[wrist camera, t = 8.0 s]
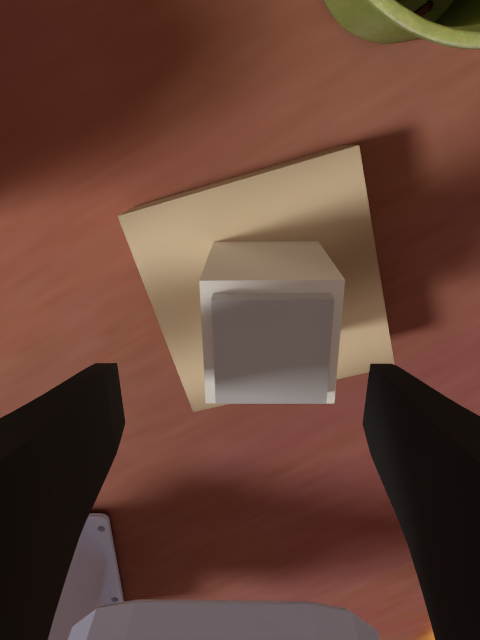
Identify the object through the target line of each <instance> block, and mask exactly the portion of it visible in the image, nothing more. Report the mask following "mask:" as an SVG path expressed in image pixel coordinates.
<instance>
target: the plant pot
mask: <svg viewBox="0 0 480 640" xmlns="http://www.w3.org/2000/svg"><path fill="white" fill-rule="evenodd" d="M324 1H325V4H326V6H327V7H328V9H329V11H330V12H331V14H332V15H333V17H334V18H335V19H336V21H337V22H338V23H339V24H340V25H341V26H342V27H343V28H344V29H345V30H347V31H348V32H350V33H352V34H354V35H356V36H358V37H360V38H362V39H364V40H367V41H371V42H374V43H380V44H391V43H399V42H403V41H408V40H413V39H418V38H422V39H425V40H428V41H431V42H434V43H437V44H440V45H443V46H448V47H455V48H461V49H478V50H480V0H324ZM428 1H433V4H432V9H431V10H430V11H429V12H427V13H425V14H424V15H422V16H419V15H417V14H416V13H414V12H415V11H416V10H418V9H419V8H421V7H422V6H423V5H425V4H426V3H427V2H428Z"/></svg>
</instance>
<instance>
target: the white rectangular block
mask: <svg viewBox="0 0 480 640" xmlns="http://www.w3.org/2000/svg"><path fill="white" fill-rule="evenodd" d="M199 286H200V305H201V324H202V343H203V362H204V381H205V400H206V403H227V404H326V403H334V401H335V390H336V378H337V367H338V356H339V344H340V333H341V321H342V310H343V299H344V287H345V279H344V278H343V276H342V275H341V273H340V272H339V270H338V269H337V267H336V266H335V265H334V263H333V262H332V260H331V259H330V257H329V256H328V254H327V253H326V252H325V250H324V249H323V247H322V246H321V244H320V243H319V242H318V241H261V242H213V244H212V247H211V249H210V252H209V255H208V258H207V261H206V263H205V266H204V269H203V272H202V274H201V277H200V280H199Z"/></svg>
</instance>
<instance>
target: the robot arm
mask: <svg viewBox="0 0 480 640" xmlns="http://www.w3.org/2000/svg"><path fill="white" fill-rule="evenodd" d="M124 426H125V418H124V410H123V403H122V396H121V389H120V381H119V374H118V367H117V363H96V364H94V365H91V366H89V367H88V368H86V369H84V370H82V371H81V372H79V373H77V374H76V375H74V376H73V377H71V378H69V379H68V380H66V381H64V382H63V383H61V384H60V385H58V386H56V387H55V388H53V389H51V390H50V391H48V392H47V393H45V394H43V395H42V396H40V397H38V398H36V399H34V400H33V401H31V402H29V403H27V404H26V405H24V406H22V407H20V408H19V409H17V410H15V411H13V412H11V413H9V414H8V415H6V416H4V417H2V418H0V640H380V637H379V633H378V631H377V630H376V629H374V628H373V627H372V626H370V625H369V624H368V623H366V622H365V621H363V620H362V619H361V618H359V617H358V616H357V615H355V614H354V613H353V612H351V611H349V610H348V609H346V608H342V607H336V606H331V605H326V604H321V603H316V602H310V601H234V600H154V599H137V600H131V601H125V602H124V598H123V592H122V586H121V581H120V575H119V570H118V564H117V559H116V553H115V548H114V542H113V536H112V531H111V525H110V520H109V517H108V516H107V515H106V514H103V513H90V512H91V509H92V507H93V505H94V503H95V501H96V498H97V496H98V494H99V492H100V489H101V487H102V485H103V483H104V481H105V478H106V476H107V474H108V472H109V469H110V467H111V465H112V463H113V460H114V458H115V456H116V453H117V450H118V447H119V444H120V440H121V437H122V433H123V429H124ZM363 427H364V431H365V435H366V439H367V443H368V446H369V450H370V453H371V456H372V459H373V461H374V464H375V466H376V468H377V471H378V473H379V475H380V478H381V480H382V483H383V485H384V487H385V490H386V492H387V494H388V497H389V499H390V501H391V504H392V506H393V508H394V511H395V513H396V515H397V518H398V520H399V522H400V525H401V527H402V530H403V533H404V535H405V538H406V541H407V543H408V547H409V550H410V553H411V556H412V560H413V563H414V566H415V569H416V573H417V576H418V579H419V583H420V586H421V590H422V593H423V597H424V600H425V604H426V607H427V611H428V614H429V618H430V621H431V625H432V629H433V632H434V636H435V640H480V416H478V415H476V414H475V413H473V412H471V411H469V410H468V409H466V408H464V407H462V406H460V405H459V404H457V403H455V402H454V401H452V400H450V399H449V398H447V397H445V396H444V395H442V394H441V393H439V392H437V391H436V390H434V389H433V388H431V387H429V386H428V385H426V384H425V383H423V382H422V381H420V380H419V379H417V378H416V377H414V376H412V375H411V374H409V373H408V372H406V371H404V370H403V369H401V368H399V367H398V366H396V365H394V364H370V370H369V378H368V386H367V394H366V402H365V410H364V418H363ZM102 526H103V527H102Z"/></svg>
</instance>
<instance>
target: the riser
mask: <svg viewBox="0 0 480 640" xmlns="http://www.w3.org/2000/svg"><path fill="white" fill-rule="evenodd" d="M118 218H119V221H120V223H121V226H122V228H123V231H124V234H125V236H126V239H127V241H128V244H129V247H130V249H131V252H132V254H133V257H134V260H135V262H136V265H137V267H138V270H139V273H140V275H141V278H142V280H143V283H144V286H145V288H146V291H147V293H148V296H149V298H150V301H151V304H152V306H153V309H154V311H155V314H156V317H157V319H158V322H159V324H160V327H161V330H162V332H163V335H164V337H165V340H166V343H167V345H168V348H169V350H170V353H171V356H172V358H173V361H174V363H175V366H176V368H177V371H178V374H179V376H180V379H181V381H182V384H183V387H184V389H185V392H186V394H187V397H188V400H189V402H190V405H191V407H192V410H193V412H195V411H200V410H204V409H208V408H213V407H217V406H222V405H226V404H227V403H206V400H205V381H204V362H203V343H202V324H201V305H200V286H199V280H200V277H201V274H202V272H203V269H204V266H205V263H206V261H207V258H208V255H209V252H210V249H211V247H212V244H213V242H261V241H318V242H319V243H320V244H321V246H322V247H323V249H324V250H325V252H326V253H327V254H328V256H329V257H330V259H331V260H332V262H333V263H334V265H335V266H336V267H337V269H338V270H339V272H340V273H341V275H342V276H343V278H344V279H345V287H344V299H343V310H342V321H341V333H340V344H339V356H338V367H337V378H336V379H340V378H345V377H349V376H354V375H358V374H362V373H367V372H369V370H370V364H394V359H393V353H392V347H391V341H390V334H389V328H388V322H387V316H386V309H385V303H384V297H383V291H382V284H381V278H380V272H379V266H378V259H377V253H376V247H375V241H374V234H373V228H372V222H371V216H370V210H369V203H368V197H367V191H366V185H365V178H364V172H363V166H362V160H361V153H360V147H359V145H340V146H337V147H333V148H330V149H327V150H323V151H320V152H316V153H313V154H310V155H306V156H303V157H300V158H296V159H293V160H289V161H286V162H283V163H279V164H276V165H273V166H269V167H266V168H262V169H259V170H256V171H252V172H249V173H245V174H242V175H239V176H235V177H232V178H229V179H225V180H222V181H218V182H215V183H212V184H208V185H205V186H201V187H198V188H195V189H191V190H188V191H185V192H181V193H178V194H174V195H171V196H168V197H164V198H161V199H158V200H154V201H151V202H147V203H144V204H141V205H137V206H135V207H133V208H131V209H129V210H128V211H126V212H124V213H122V214H121V215H119V216H118Z"/></svg>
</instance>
